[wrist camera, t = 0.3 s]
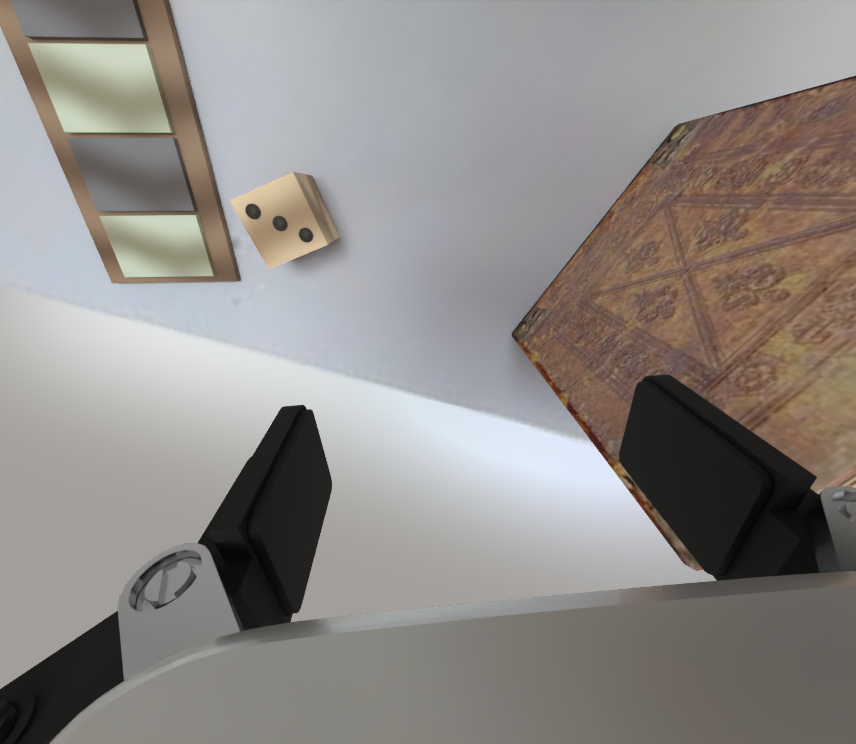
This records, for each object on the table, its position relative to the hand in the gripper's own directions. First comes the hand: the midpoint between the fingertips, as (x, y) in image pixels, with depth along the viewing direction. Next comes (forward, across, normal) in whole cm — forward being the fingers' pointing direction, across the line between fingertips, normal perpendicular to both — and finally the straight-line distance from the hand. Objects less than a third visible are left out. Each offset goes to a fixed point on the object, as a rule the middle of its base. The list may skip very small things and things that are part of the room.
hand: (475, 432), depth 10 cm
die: (+31, +13, -5) cm, 34 cm away
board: (+31, +26, -16) cm, 43 cm away
